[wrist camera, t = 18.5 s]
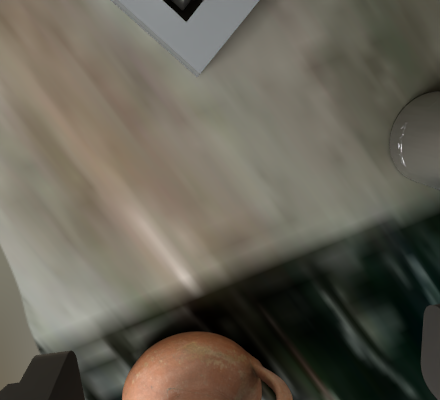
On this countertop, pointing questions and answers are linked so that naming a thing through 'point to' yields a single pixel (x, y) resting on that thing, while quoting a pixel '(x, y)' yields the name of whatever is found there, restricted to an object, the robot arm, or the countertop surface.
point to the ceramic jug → (199, 371)
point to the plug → (181, 3)
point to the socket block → (189, 27)
